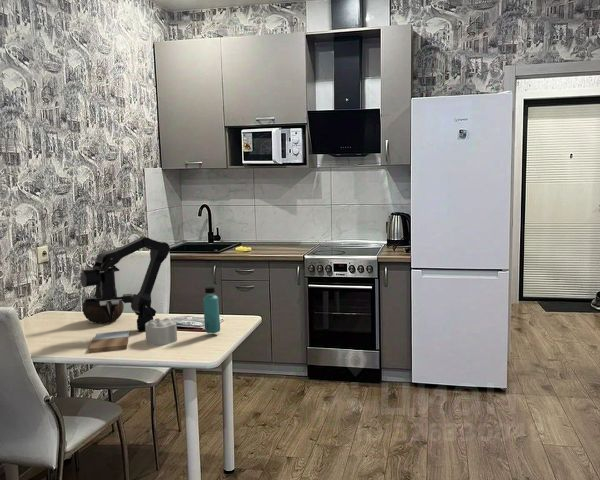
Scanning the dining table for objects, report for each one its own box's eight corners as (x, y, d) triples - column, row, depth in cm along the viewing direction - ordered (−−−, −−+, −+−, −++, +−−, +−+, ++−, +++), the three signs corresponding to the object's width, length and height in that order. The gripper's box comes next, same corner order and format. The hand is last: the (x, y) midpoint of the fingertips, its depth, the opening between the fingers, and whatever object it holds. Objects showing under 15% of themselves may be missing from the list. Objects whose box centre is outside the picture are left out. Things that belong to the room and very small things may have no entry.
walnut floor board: (128, 340, 235) (128, 336, 235) (126, 349, 223) (126, 345, 223) (93, 344, 232) (92, 340, 232) (89, 352, 220) (89, 348, 220)
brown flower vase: (82, 320, 272) (77, 261, 269) (121, 315, 280) (117, 257, 277) (85, 328, 256) (80, 266, 253) (127, 323, 264) (122, 262, 261)
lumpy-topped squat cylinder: (159, 346, 225) (158, 325, 224) (139, 341, 233) (138, 320, 232) (180, 340, 233) (179, 319, 232) (160, 335, 241) (159, 315, 240)
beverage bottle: (223, 333, 241) (221, 285, 238) (214, 337, 235) (212, 289, 232) (210, 332, 243) (207, 285, 241) (201, 336, 237) (198, 288, 235)
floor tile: (129, 333, 245) (128, 330, 245) (127, 340, 235) (127, 336, 235) (96, 336, 242) (96, 333, 242) (94, 343, 233) (93, 339, 232)
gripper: (132, 278, 248) (135, 313, 250) (86, 281, 244) (89, 317, 245) (131, 282, 237) (133, 320, 239) (82, 286, 233) (85, 324, 235)
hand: (110, 320), depth 240 cm, fingers closed
